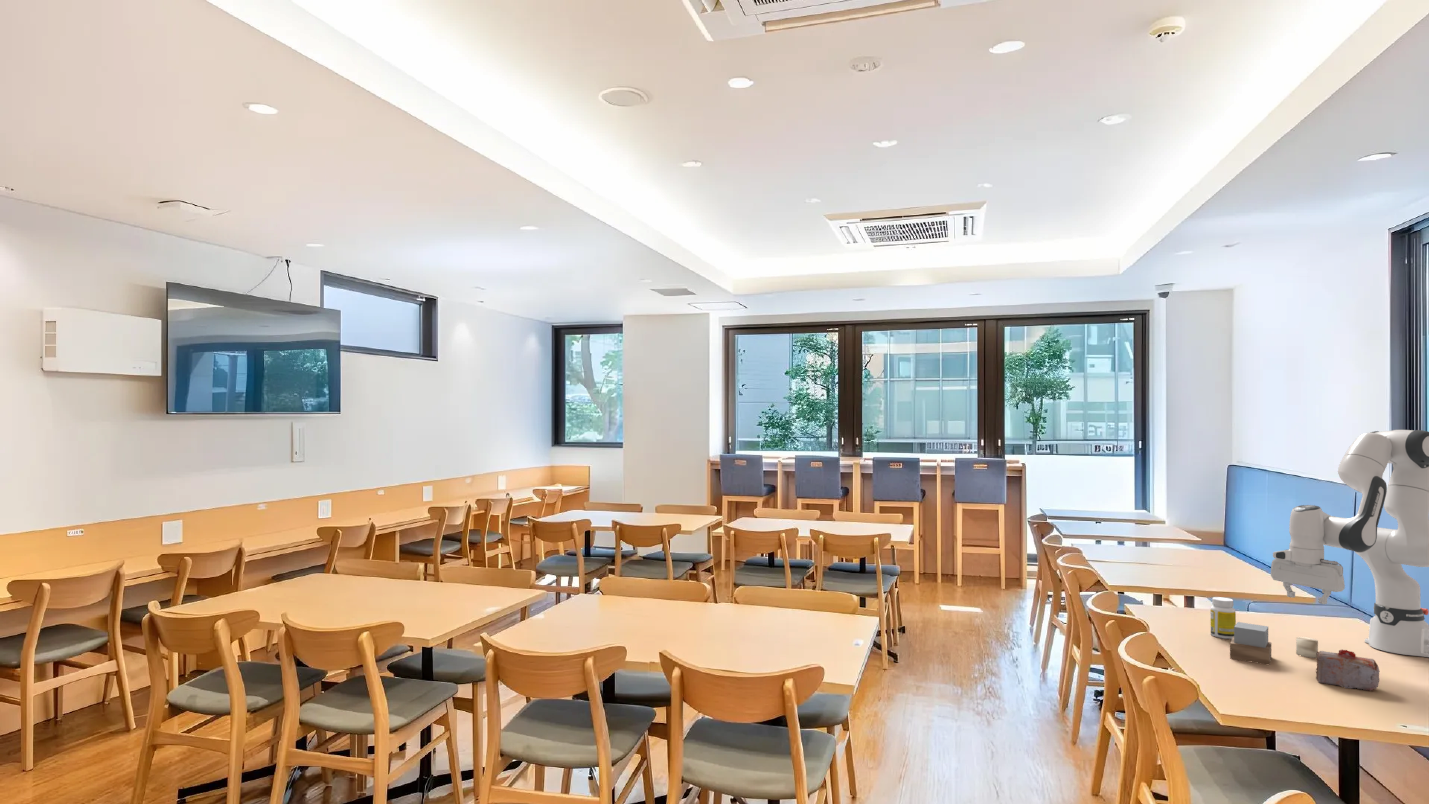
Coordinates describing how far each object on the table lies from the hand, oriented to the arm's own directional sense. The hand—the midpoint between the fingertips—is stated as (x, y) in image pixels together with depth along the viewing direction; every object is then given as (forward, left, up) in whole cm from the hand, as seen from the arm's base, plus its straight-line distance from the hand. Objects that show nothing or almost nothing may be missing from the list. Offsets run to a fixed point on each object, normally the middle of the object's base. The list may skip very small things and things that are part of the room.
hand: (1306, 600), depth 247 cm
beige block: (0, 0, -17) cm, 17 cm away
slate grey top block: (+20, -4, -13) cm, 24 cm away
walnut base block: (+20, -4, -18) cm, 27 cm away
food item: (+19, +23, -18) cm, 35 cm away
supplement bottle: (+5, -24, -18) cm, 30 cm away
